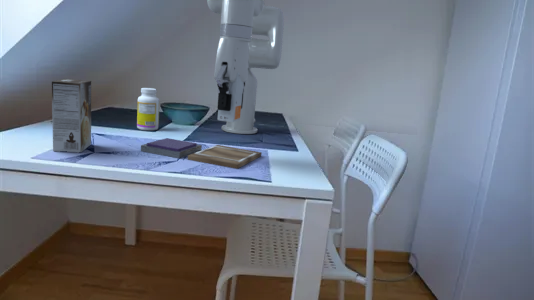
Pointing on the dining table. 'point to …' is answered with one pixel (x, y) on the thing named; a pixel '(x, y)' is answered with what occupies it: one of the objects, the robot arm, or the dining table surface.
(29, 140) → the dining table surface
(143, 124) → the supplement bottle
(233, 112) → the skincare box
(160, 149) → the ink pad
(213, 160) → the wooden tray
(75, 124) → the coffee box
